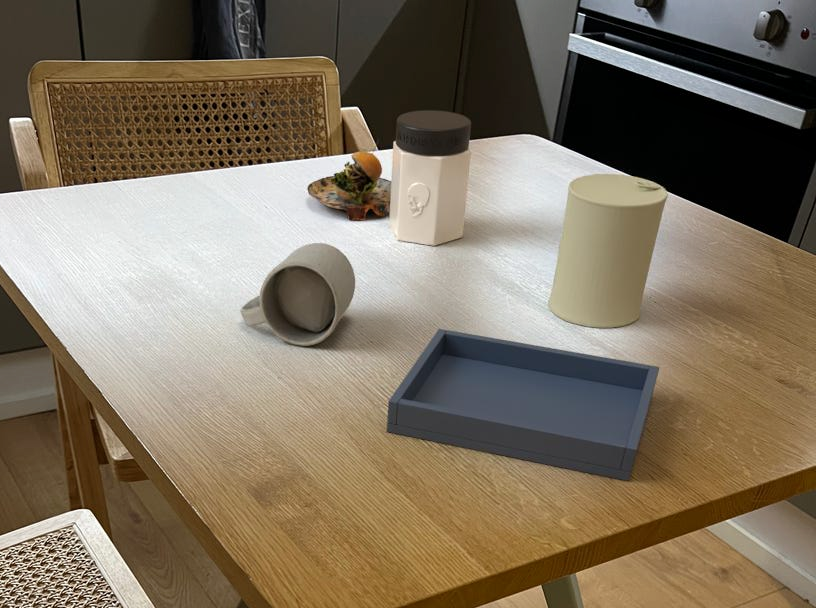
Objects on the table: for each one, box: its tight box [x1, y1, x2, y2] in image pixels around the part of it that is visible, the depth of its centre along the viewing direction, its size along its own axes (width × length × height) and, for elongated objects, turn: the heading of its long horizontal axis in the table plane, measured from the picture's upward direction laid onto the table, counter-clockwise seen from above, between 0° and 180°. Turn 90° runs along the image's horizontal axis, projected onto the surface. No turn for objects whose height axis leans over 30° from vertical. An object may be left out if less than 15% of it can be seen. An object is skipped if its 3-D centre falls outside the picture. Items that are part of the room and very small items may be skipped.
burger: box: [306, 139, 391, 222], centre depth 118 cm, size 12×12×8 cm
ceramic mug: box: [239, 242, 356, 347], centre depth 91 cm, size 11×8×8 cm
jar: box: [388, 110, 472, 247], centre depth 109 cm, size 9×8×12 cm
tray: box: [386, 328, 660, 482], centre depth 81 cm, size 20×15×3 cm
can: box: [547, 173, 668, 329], centre depth 94 cm, size 9×9×12 cm
